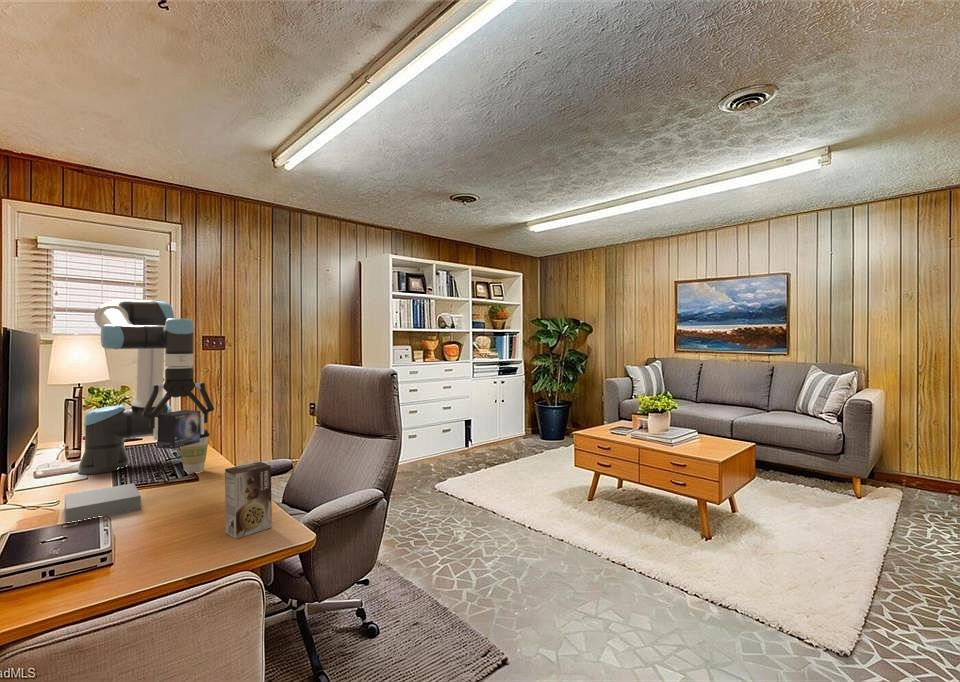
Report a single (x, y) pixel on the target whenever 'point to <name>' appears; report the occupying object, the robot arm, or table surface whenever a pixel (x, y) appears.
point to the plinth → (102, 502)
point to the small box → (178, 429)
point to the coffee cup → (195, 454)
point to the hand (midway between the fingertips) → (179, 436)
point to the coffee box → (248, 499)
